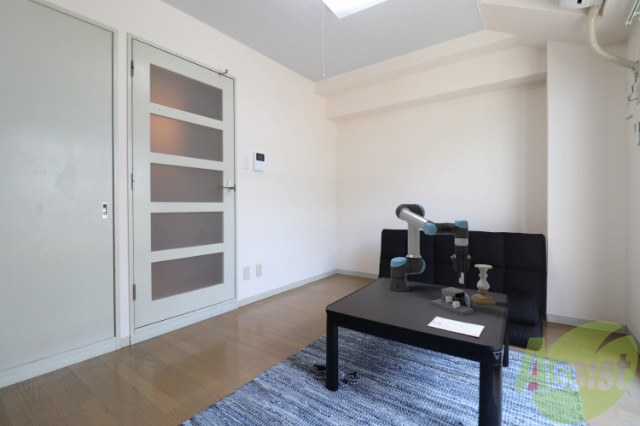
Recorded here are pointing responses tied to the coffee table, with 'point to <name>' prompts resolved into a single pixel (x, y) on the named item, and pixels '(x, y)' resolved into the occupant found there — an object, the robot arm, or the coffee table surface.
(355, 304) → the coffee table surface
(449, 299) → the fader
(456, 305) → the fader
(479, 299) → the candle holder
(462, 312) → the console
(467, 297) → the door
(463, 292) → the cabinet
